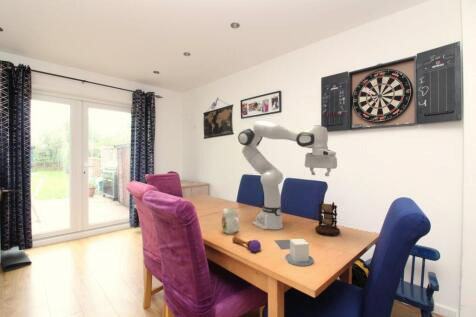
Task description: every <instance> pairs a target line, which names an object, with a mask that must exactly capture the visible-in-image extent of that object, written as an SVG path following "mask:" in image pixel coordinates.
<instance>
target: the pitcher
mask: <svg viewBox="0 0 476 317" xmlns="http://www.w3.org/2000/svg"><path fill="white" fill-rule="evenodd" d="M221 213H222V217H221V226H222V230H223V231H224V233H225V234H228V235H232V234H235V233H236V232H237V231H238V230H239V229H240V219H239V216H238V215H239V211H238V210H236V209H230V208H223V209H222V211H221Z"/></svg>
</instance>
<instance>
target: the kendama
mask: <svg viewBox="0 0 476 317" xmlns="http://www.w3.org/2000/svg"><path fill="white" fill-rule="evenodd" d="M231 241H232V242H233V243H237V244H240V245H241V244H243V245H246V247H247V248H248V249H250V251H251V252H253V253H257V252H259V251H260V250H261V248H262V244H261V242H260V241H259V240H257V239H253V240H248V241H245V240H244V239H241V238H239V237H237V236H233V237H232V238H231Z"/></svg>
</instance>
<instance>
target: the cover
mask: <svg viewBox="0 0 476 317" xmlns="http://www.w3.org/2000/svg"><path fill="white" fill-rule="evenodd" d="M289 240H290V249H289V254H290V256H291V258H292V259H293V260H294V261H295V262H304V261H309V256H310V253H309V252H310V248H309V247H310V244H309V243H308V242H307V241H306V240H305V239H304V238H294V239H293V238H292V239H291V238H290V239H289Z"/></svg>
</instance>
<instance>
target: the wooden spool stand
mask: <svg viewBox="0 0 476 317" xmlns="http://www.w3.org/2000/svg"><path fill="white" fill-rule="evenodd" d="M317 205H318V211H317V212H318V213H317V214H318V224H317V225H316V226H315V228H314V230H315V231H316V233H317V234H319V233H320V234H324V235H332V236H333V237H335V235H339V234H340V233H341V229H340V228H338V226H337V224H338V223H337V222H338V221H337V219H338V218H337V217H338V210H337V208H338V205H337V204H336V205H335V202H334V201H333V202H332V203H324V200H322V201H321V202H320V203H318V204H317ZM322 214H323V215H322Z"/></svg>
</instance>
